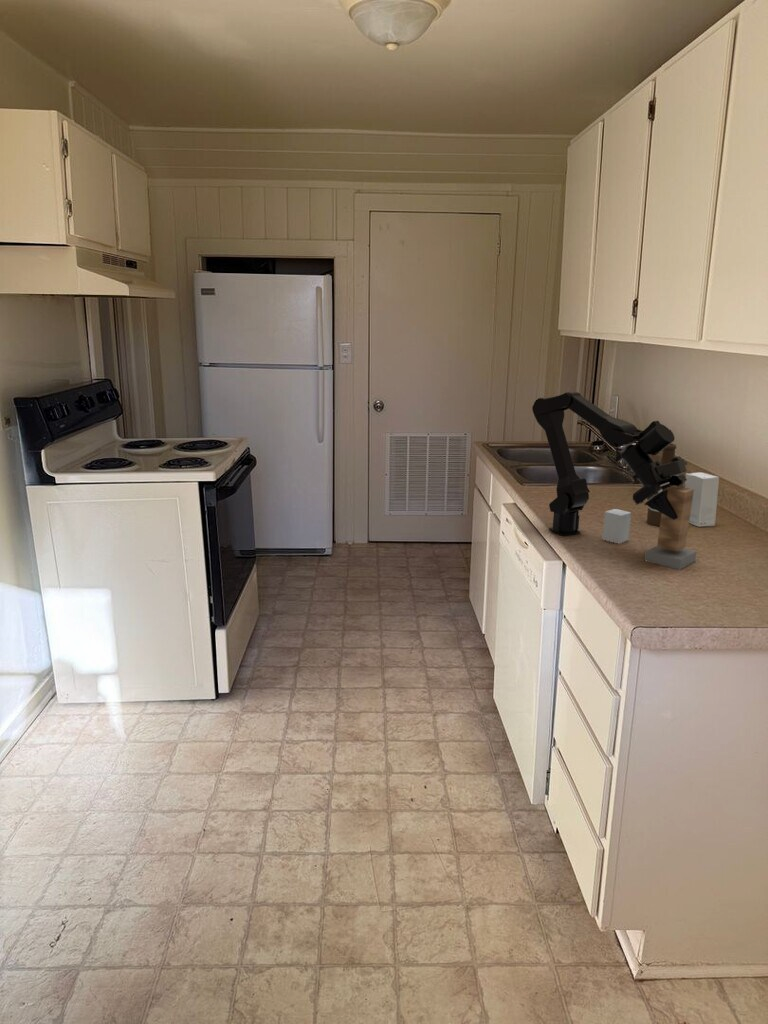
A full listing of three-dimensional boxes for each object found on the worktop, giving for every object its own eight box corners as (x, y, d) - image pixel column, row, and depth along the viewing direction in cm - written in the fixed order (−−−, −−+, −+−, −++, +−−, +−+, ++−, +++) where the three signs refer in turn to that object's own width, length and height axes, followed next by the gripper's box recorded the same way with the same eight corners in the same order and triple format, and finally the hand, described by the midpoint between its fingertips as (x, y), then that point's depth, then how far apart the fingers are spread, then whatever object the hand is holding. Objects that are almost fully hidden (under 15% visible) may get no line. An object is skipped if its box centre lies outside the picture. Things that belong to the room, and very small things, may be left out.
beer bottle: (640, 521, 212) (649, 442, 206) (661, 519, 215) (670, 441, 209) (659, 528, 205) (668, 447, 199) (680, 525, 208) (690, 445, 202)
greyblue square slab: (644, 562, 178) (645, 551, 177) (660, 554, 184) (661, 543, 183) (679, 571, 172) (680, 559, 171) (694, 562, 178) (696, 551, 177)
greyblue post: (618, 544, 191) (621, 515, 189) (602, 539, 195) (604, 511, 193) (628, 540, 194) (631, 512, 192) (612, 536, 198) (615, 508, 196)
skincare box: (715, 526, 208) (721, 477, 204) (696, 527, 207) (703, 478, 203) (697, 518, 216) (703, 471, 212) (679, 519, 215) (685, 471, 211)
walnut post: (657, 546, 177) (665, 488, 173) (665, 542, 180) (673, 485, 176) (676, 551, 174) (685, 492, 169) (685, 547, 177) (693, 489, 173)
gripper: (650, 451, 167) (691, 505, 162) (683, 442, 179) (722, 492, 175) (616, 478, 174) (654, 530, 170) (650, 467, 187) (686, 516, 182)
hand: (680, 516), depth 174 cm, fingers open, 5 cm apart
